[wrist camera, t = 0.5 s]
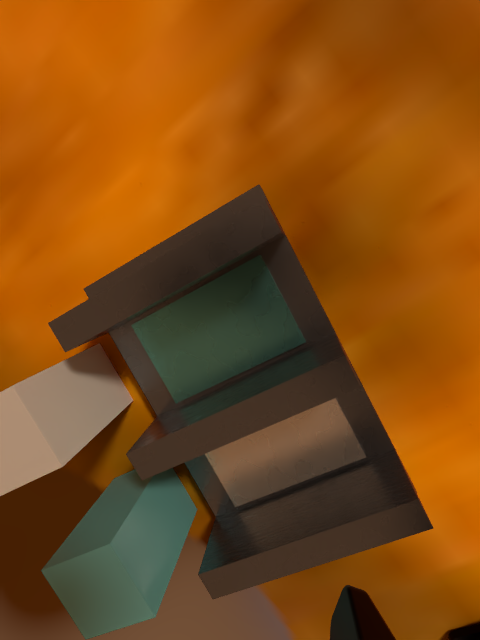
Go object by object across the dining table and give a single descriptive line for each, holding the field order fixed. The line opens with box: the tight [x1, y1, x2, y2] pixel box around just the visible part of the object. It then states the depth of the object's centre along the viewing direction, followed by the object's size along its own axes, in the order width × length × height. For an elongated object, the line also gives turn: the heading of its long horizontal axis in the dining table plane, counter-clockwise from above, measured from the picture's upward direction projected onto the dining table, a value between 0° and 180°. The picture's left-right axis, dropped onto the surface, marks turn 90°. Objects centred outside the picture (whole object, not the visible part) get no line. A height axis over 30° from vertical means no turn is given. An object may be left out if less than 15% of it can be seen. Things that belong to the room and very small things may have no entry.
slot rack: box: [48, 185, 433, 599], centre depth 19 cm, size 18×11×5 cm, turn 28°
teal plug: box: [41, 468, 197, 639], centre depth 20 cm, size 4×4×7 cm
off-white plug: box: [0, 343, 133, 496], centre depth 19 cm, size 4×4×7 cm
